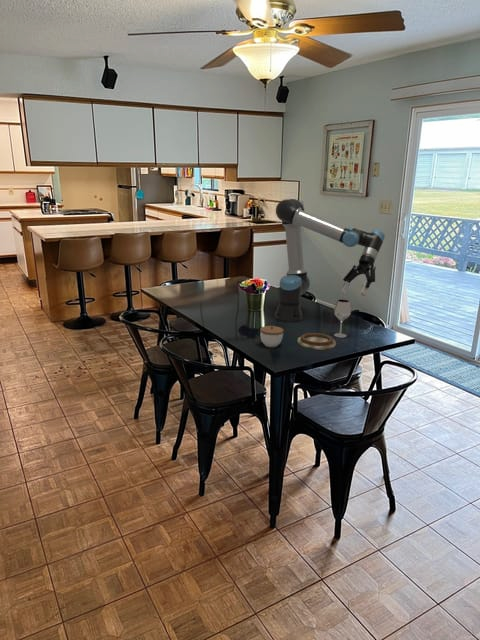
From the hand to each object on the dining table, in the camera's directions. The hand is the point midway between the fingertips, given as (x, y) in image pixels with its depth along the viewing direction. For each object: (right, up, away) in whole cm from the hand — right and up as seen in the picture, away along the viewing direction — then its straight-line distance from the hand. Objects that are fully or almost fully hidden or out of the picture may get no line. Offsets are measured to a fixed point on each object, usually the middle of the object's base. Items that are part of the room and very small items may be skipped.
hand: (352, 293), depth 245 cm
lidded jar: (-43, -26, -22) cm, 55 cm away
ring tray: (-22, -25, -18) cm, 37 cm away
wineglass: (-8, -22, -5) cm, 24 cm away
